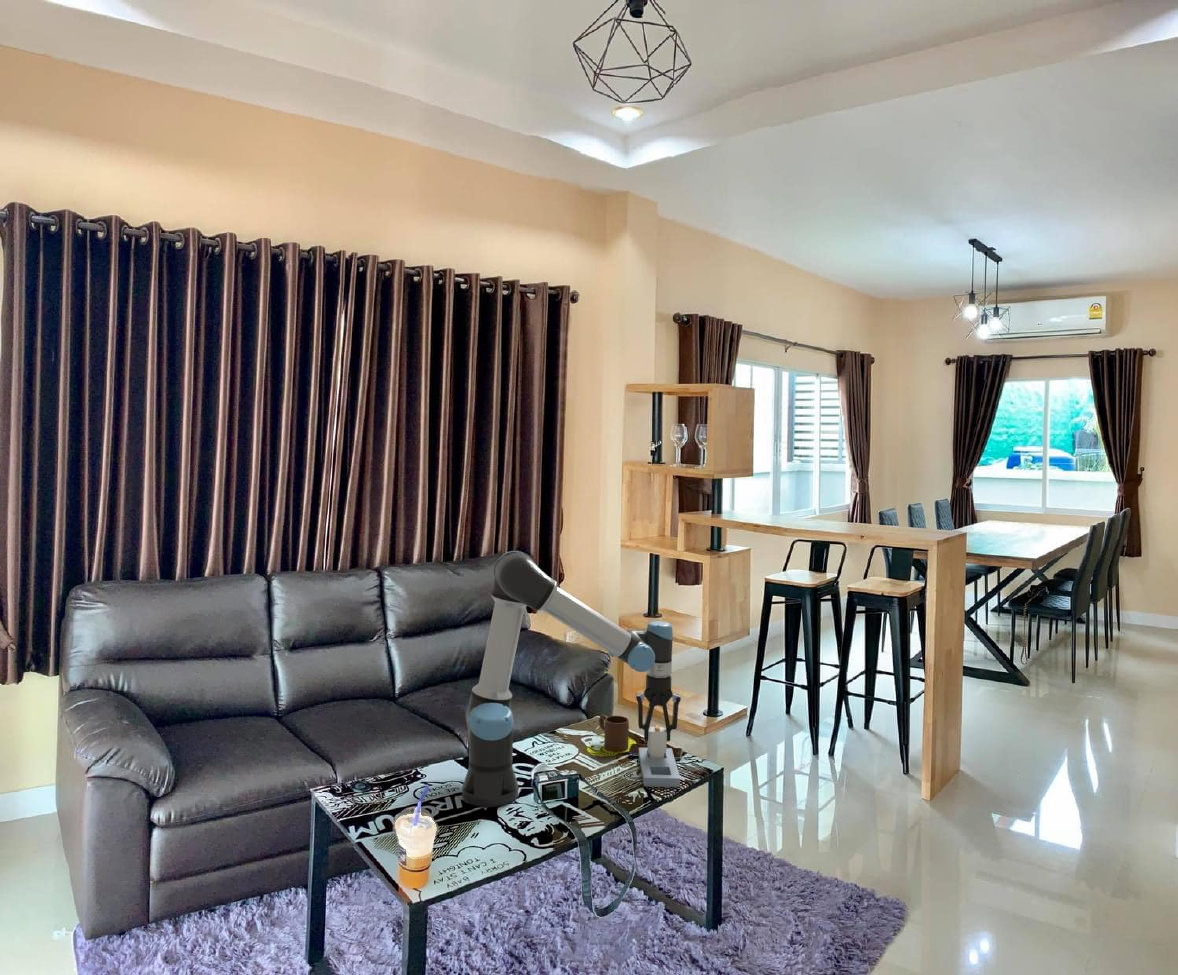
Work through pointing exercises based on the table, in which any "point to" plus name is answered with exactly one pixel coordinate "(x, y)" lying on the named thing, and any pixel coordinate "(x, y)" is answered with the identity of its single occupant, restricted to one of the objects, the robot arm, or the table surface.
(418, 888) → the table surface
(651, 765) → the panel
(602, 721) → the mug
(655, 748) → the plug
